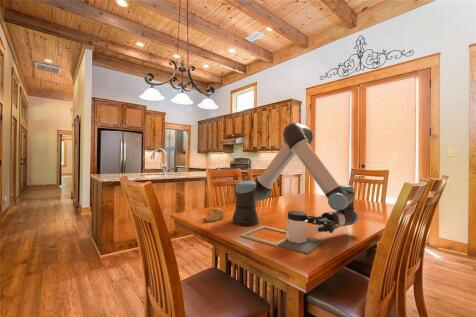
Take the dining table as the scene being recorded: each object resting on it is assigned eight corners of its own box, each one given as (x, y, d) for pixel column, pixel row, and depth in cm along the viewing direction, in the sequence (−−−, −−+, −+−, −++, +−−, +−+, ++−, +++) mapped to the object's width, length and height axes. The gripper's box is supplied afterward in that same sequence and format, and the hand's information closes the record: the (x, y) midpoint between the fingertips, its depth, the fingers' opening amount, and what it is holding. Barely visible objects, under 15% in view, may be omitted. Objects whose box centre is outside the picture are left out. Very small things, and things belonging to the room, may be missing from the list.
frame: (240, 236, 106) (240, 234, 106) (263, 227, 122) (263, 225, 122) (277, 246, 94) (277, 244, 94) (297, 234, 109) (297, 233, 109)
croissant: (211, 229, 128) (217, 217, 126) (197, 219, 131) (203, 207, 130) (227, 219, 148) (232, 209, 146) (214, 211, 151) (219, 200, 149)
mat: (279, 246, 94) (279, 245, 94) (298, 235, 108) (298, 234, 108) (308, 254, 87) (308, 253, 87) (324, 241, 101) (324, 240, 101)
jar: (295, 244, 95) (297, 216, 95) (282, 238, 102) (283, 211, 101) (310, 241, 100) (311, 213, 99) (296, 235, 106) (297, 209, 106)
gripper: (357, 235, 96) (323, 244, 86) (311, 221, 118) (279, 227, 107) (357, 217, 96) (323, 224, 86) (311, 207, 118) (279, 211, 107)
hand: (299, 226), depth 96 cm, fingers open, 13 cm apart
